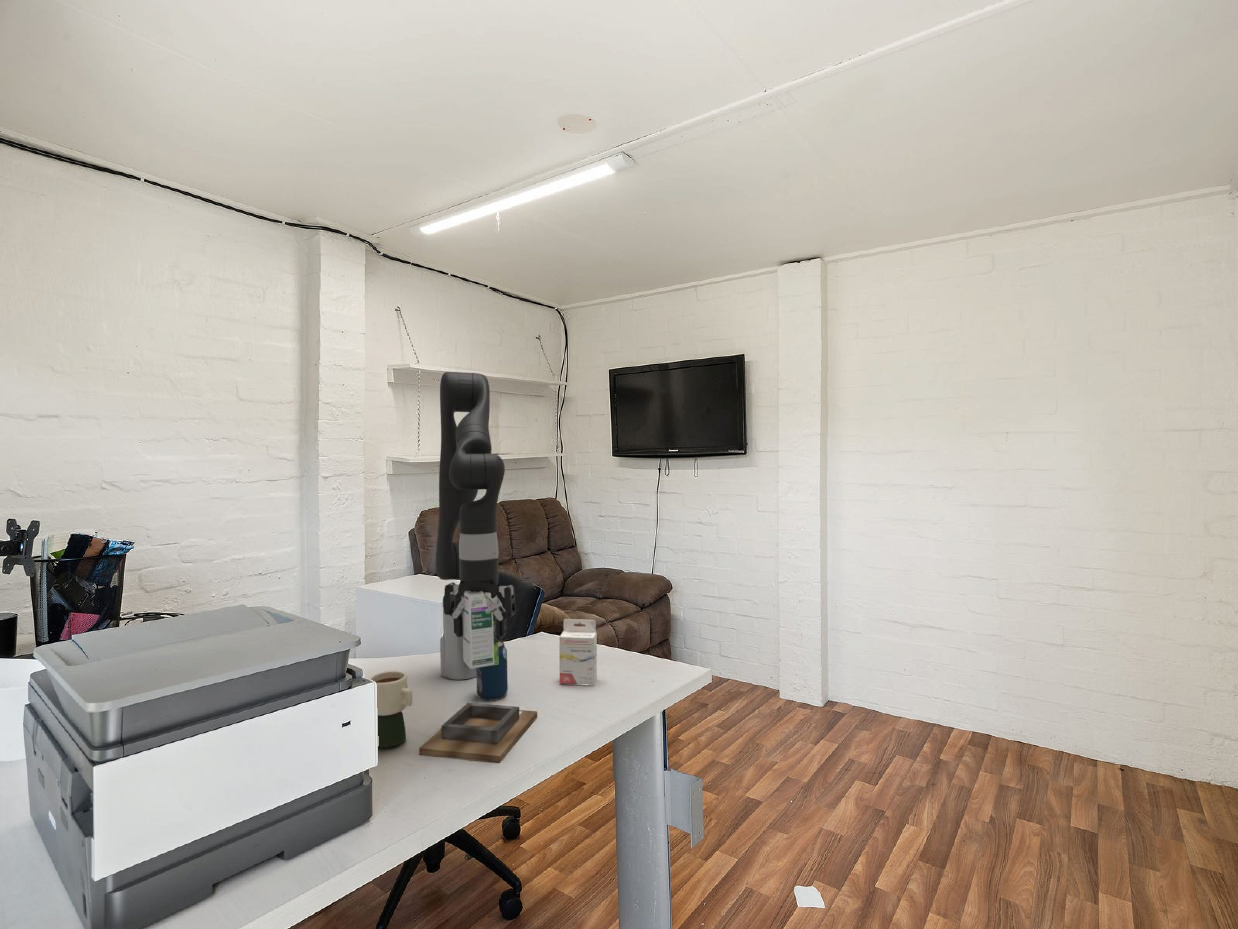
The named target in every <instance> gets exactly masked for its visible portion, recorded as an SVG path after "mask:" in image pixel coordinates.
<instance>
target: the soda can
mask: <svg viewBox="0 0 1238 929" xmlns="http://www.w3.org/2000/svg"><path fill="white" fill-rule="evenodd" d="M498 649H499V664H498V665H491V666H485V667H479V668H476V677H475V678H476V694H477V695H478V697H479V698H480V699H481V700H482V699H483V701H487V702H488V701H491V700H493V701H497V699H498V700H500V698H501V699H503V698H504V697H505V696H506V694H507V692H508V689H509V688H508V685H509V684H508V650H507V648H506V646H505V642H504V641H502V640H500V639H498ZM502 697H503V698H502Z"/></svg>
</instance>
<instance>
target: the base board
mask: <svg viewBox="0 0 1238 929" xmlns="http://www.w3.org/2000/svg"><path fill="white" fill-rule="evenodd" d="M537 718H538V711H537V710H525V709H520V706H513V705H503V704H502V705H501V704H500V705H499V704H488V703H487V704H486V703H474V702H467V703H465V704H464V705H463V706H461V708H460V709H459V710H458V711H457V712H455V713H454V714H453V715H452V716H451V717H450V718H448V720H446V721H445V722H444V723H443V724H442V725H441V726H440V727H441V728H439V730H437V731H436V733H434V734H433V735H432V736H431V737H430V738H429V739H427V741H425V742H424V743H423V744H422V745H420V746H419V748H418V750H419V751H418V754H419V755H421V756H429V757H430V756H433V757H441V758H450V759H460V760H461V759H462V760H470V761H481V762H490V763H491V762H492V763H501V762H502V761H503V759H505V757H506V756H507V755H508V753H510V751H511V750H512V749H513V747H514V746H515V745H516V744H517V743H518V742H519V740H520V739H521V737H522V736H523V735H524V734H525V733H526V732H527V730H528V729H529V728H530V727H531V726H532V724H533V723H534V722H535V720H536V719H537Z"/></svg>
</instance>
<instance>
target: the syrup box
mask: <svg viewBox="0 0 1238 929" xmlns="http://www.w3.org/2000/svg"><path fill="white" fill-rule="evenodd" d="M485 594H486V595H487V596H488V597H489V598H490V599H491V601H492V602H493V603H494V604H495V605H497V597H498V596H497V595H496V597H495V598H493V599H492V598H491V593H488V592H485ZM464 595H465V607H464V610H463V611H462V627H463V660H464V662H465V663H466V665H467V666H468V667H469V668H470V669H474V668H479V667H485V666H491V665H498V664H499V649H498V640H499V639H497V634H496V621H497V620H498V619H497V618H496V616H495V615H494V613H493V612H491V611H490V610H489V608H488V607H487V602H488V601H487V600H486V598H484V594H483V593H479V591H473V592H467V591H465V593H464ZM462 599H463V597H462Z"/></svg>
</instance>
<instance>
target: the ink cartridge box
mask: <svg viewBox="0 0 1238 929" xmlns="http://www.w3.org/2000/svg"><path fill="white" fill-rule="evenodd" d="M578 624H581V625H585V626H580V625H579V626H578ZM596 624H597V623H596V620H595V619H582V618H581V619H577V618H573V619H572V618H564V619H563V624H562V625H563V631H562V632H561V634H560V635H559V685H560V684H588V685H594V684H596V682H595V681H597V678H598V671H597V669H598V668H597V667H598V666H597V663H598V661H597V659H598V658H597V656H598V655H597V653H598V647H597V646H598V645H597V644H598V642H597V638H598V636H597V630H596V629H597V625H596ZM576 625H577V626H576ZM594 686H595V685H594Z"/></svg>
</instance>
